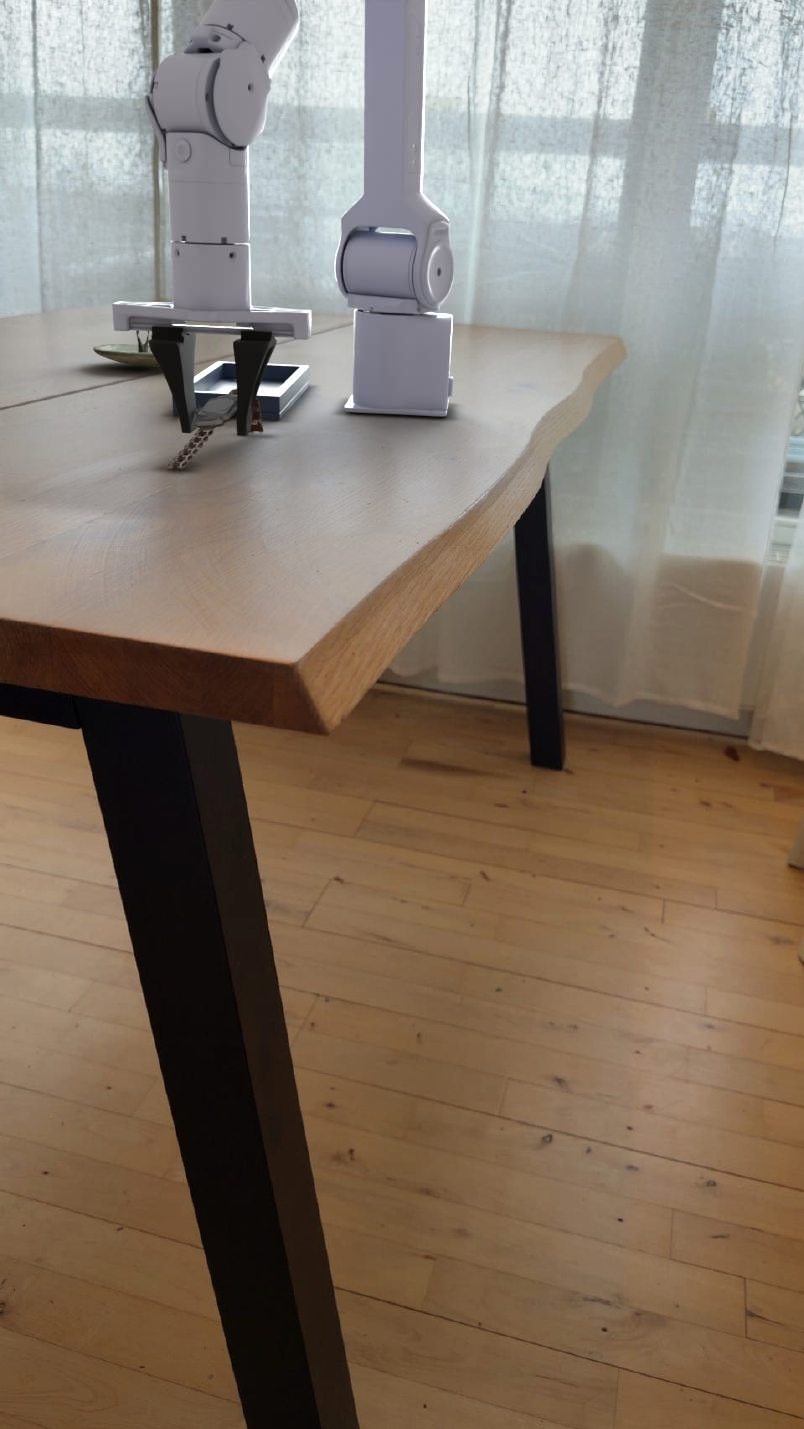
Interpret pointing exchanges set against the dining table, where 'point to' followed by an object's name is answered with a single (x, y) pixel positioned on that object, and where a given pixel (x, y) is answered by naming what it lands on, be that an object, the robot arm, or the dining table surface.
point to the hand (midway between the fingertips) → (216, 432)
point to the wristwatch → (214, 424)
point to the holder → (274, 391)
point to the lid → (129, 353)
